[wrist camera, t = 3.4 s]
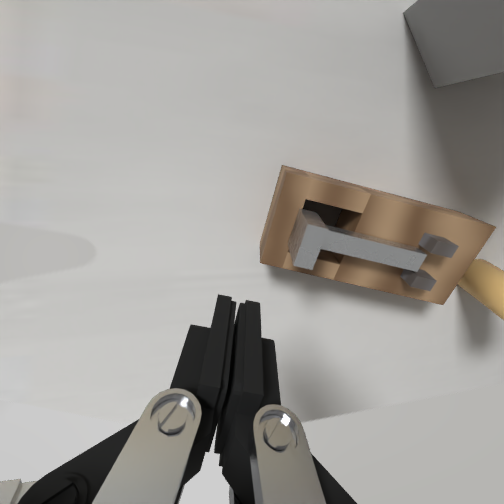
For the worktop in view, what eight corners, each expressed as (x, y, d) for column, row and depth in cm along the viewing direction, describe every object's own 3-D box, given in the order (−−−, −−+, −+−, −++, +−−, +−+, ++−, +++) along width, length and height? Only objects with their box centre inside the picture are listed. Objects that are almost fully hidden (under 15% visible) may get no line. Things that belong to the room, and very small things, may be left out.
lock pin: (422, 239, 24) (454, 260, 20) (403, 271, 26) (430, 297, 22) (299, 208, 24) (308, 224, 20) (287, 244, 25) (293, 265, 21)
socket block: (458, 211, 29) (515, 234, 22) (417, 280, 32) (456, 317, 26) (282, 165, 27) (289, 175, 21) (259, 243, 31) (260, 272, 24)
